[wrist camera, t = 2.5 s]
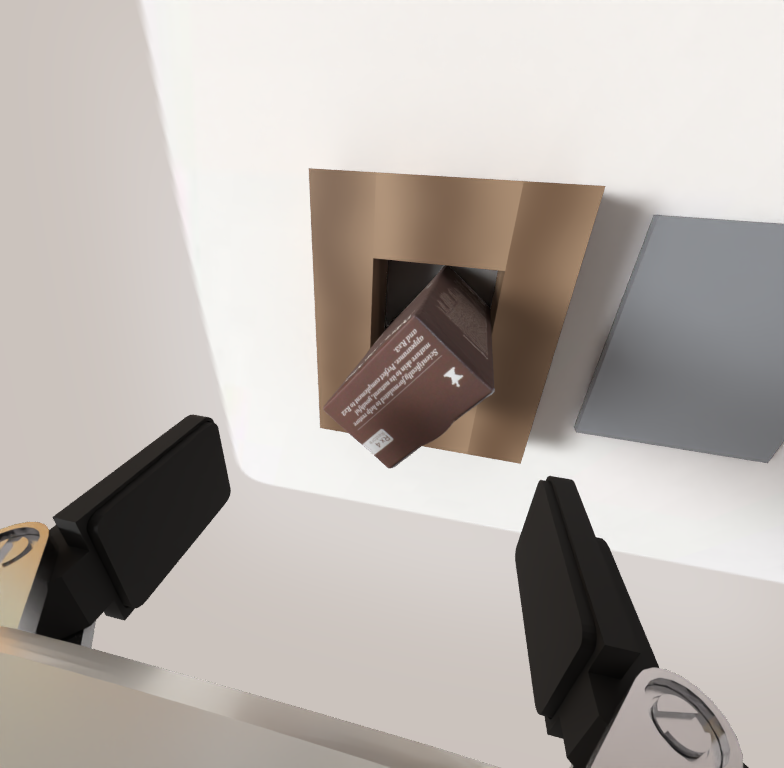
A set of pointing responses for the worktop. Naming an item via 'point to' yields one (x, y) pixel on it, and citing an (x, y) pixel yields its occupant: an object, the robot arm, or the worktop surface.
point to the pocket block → (453, 248)
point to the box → (419, 372)
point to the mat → (697, 342)
